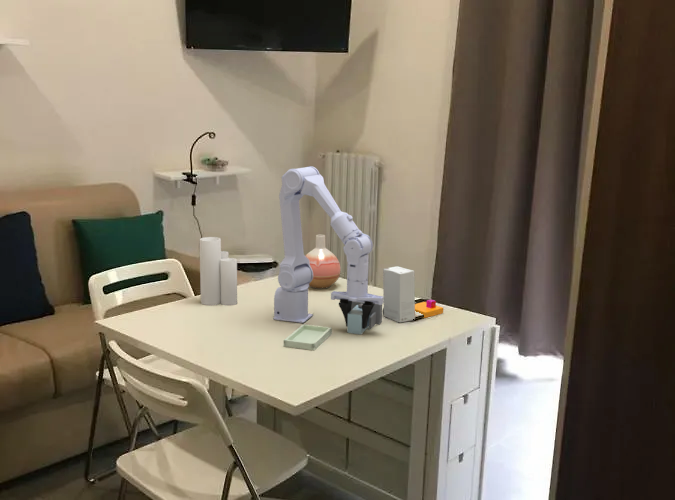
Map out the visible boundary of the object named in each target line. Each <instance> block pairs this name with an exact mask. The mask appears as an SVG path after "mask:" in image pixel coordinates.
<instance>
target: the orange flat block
mask: <svg viewBox="0 0 675 500" xmlns="http://www.w3.org/2000/svg"><path fill="white" fill-rule="evenodd" d="M415 311H416V312H419V313H421V314H423V315H424V317H423V318H424V319H427V318H430V317H434V316H437V315H442V314H444V307H442V306H439V305H437V300H434V299H428V300H426V301H422V302H418V303H415Z"/></svg>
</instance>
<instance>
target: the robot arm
mask: <svg viewBox="0 0 675 500" xmlns="http://www.w3.org/2000/svg"><path fill="white" fill-rule="evenodd" d="M280 178H281V188H280V190H279V191H280V192H279V195H278V198H279V207H280V209H279V210H280V219H281V227H282V228H281V229H282V230H281V231H282V241H283V251H284V253H283V254H284V257H283V258H282V261H280V263H279V273H278V274H277V282H278V284H279V286H278V287H277V288H276V290H275V292H274V298H273V305H274V307H273V310H274V312H273V318H272V319H273V320H274V321H284V322H293V323H301V324H305V322H306V321H308V320H309V319H310V318H311V317H313V316H314V315H313V313H309V288H310V286H309V283H310V282H311V281H312V279H313V271H312V269H311V267H310V262H309V259H308V258H307V257H306V256H305V255H306V254H305V253H304V252H305V251H304V240H303V230H302V229H303V227H302V220H301V219H302V218H301V208H300V200H301V199H302V198H303V197H304V195H305V196H309V197H313V198H314V199H315V201H316V202H317V203H318V204H319V206H320V207H321V208H322V209H323V211H324V212H325V214H327V215H328V217H329V218H330V227H331V228H332V229H333V231H334V232H335V234H336V235H337V237H338V238H339V240H340V241H341V242H342V244H343V245H344V246H343V253H344V254H345V256H346V263H347V264H346V265H347V266H346V267H347V269H346V270H347V271H346V291H337V290H336V291H335V290H333V291H332V292H330V300H331V301H332V300H334V301H335V300H339V302H338V307H339V308H340V310H341V312H342V315H343V317H344V322H345V327H347V324H348V313H349V312H350V311H351V305H352V301H356V302H365V303H364V304H363V305H362V314H363V320H362V329H365V328H366V327H367V322H368V318H369V315H370V313H371V311H372V308H373V307H374V305H375V304H378V305H382V306H383V305H384V296H383V295H377V294H372V293H369V292H368V289H369V288H368V287H369V259H370V258H369V257H370V255H369V254H370V253H371V252H372V250H373V247H374V245H373V243H374V242H373V240H372V238H371V236H370V235H369V234H366V233H363V231H362V230H361V229H359V227H358V226H357V224H356V223H355V221H354V220H353V219H354V217H353V216H352V215H351V214H349V213H348V212H345V211H341V209H340V207H339V205H338V204H337V203H336V201H335V199H334V197H333V195H332V194H331V192H330V191H329V189H328V188H327V186H326V184H325V181H324V180H325V179H324V176H322V174H320V172H319V170H318V169H317V168H316V167H314V166H313V165H312V166H311V165H309V166H306V167H298V168H289V169H288V170H287V171H286V172H285V173H284V174H282V176H281V177H280Z"/></svg>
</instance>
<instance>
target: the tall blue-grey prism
mask: <svg viewBox="0 0 675 500" xmlns="http://www.w3.org/2000/svg"><path fill="white" fill-rule="evenodd" d="M362 305H363V304H359V305H356V306H355V307H354V308H353V309H352V310H351V311H350V312H349V313H348V324H347V330H346V331H347V333H348V334H353V335H354V334H356V335H362V334H363V333H364V332H365V331H366V330H367V329H369V318H368V322H367V327H366V328H365V329H362V320H363V314H362ZM369 317H370V315H369Z"/></svg>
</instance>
